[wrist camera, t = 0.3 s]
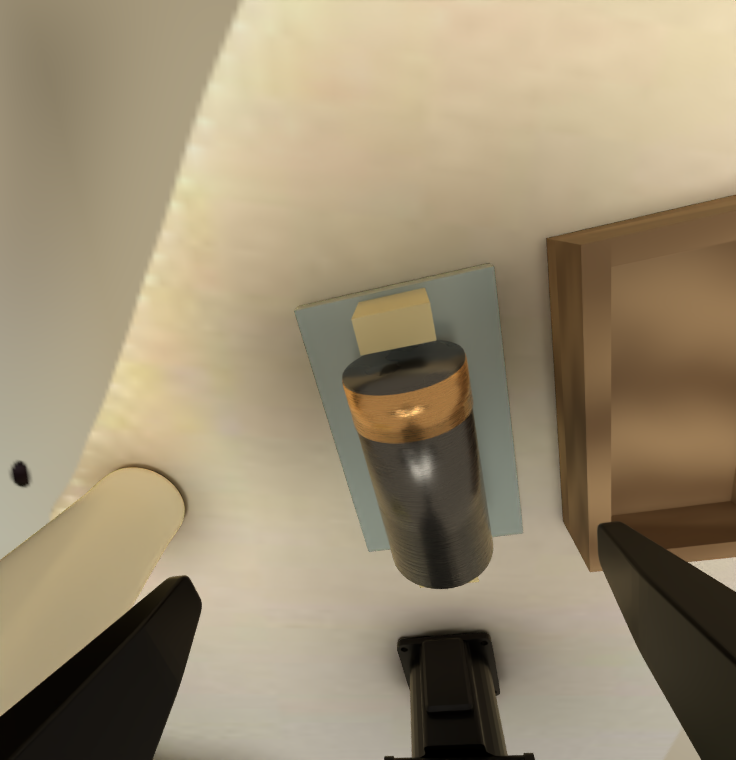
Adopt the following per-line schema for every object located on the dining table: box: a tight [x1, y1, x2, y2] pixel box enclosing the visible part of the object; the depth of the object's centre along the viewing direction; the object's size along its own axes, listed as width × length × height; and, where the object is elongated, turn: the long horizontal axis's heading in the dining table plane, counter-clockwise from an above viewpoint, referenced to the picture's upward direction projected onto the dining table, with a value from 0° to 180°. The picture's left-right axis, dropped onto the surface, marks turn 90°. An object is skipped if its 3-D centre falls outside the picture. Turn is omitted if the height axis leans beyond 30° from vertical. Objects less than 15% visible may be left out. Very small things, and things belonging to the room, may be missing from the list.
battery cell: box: [342, 340, 493, 589], centre depth 18 cm, size 10×5×5 cm, turn 13°
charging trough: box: [547, 195, 736, 572], centre depth 18 cm, size 16×9×4 cm, turn 13°
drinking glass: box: [0, 467, 185, 716], centre depth 18 cm, size 7×7×15 cm
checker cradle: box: [294, 263, 523, 588], centre depth 19 cm, size 15×9×4 cm, turn 13°
